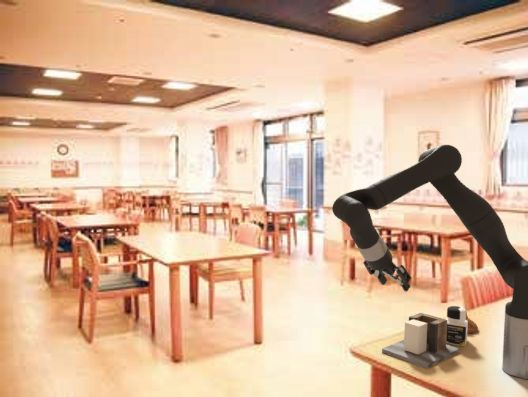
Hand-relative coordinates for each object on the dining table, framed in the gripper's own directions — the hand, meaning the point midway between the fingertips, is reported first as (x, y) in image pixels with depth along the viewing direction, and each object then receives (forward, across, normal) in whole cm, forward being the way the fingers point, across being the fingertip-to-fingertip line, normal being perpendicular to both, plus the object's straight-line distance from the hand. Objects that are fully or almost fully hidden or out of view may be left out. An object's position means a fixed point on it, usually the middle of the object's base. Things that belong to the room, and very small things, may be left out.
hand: (395, 285), depth 145 cm
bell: (+49, +4, -18) cm, 52 cm away
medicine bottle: (+39, -2, -8) cm, 40 cm away
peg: (+23, -1, +7) cm, 25 cm away
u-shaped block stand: (+27, -1, +6) cm, 27 cm away
